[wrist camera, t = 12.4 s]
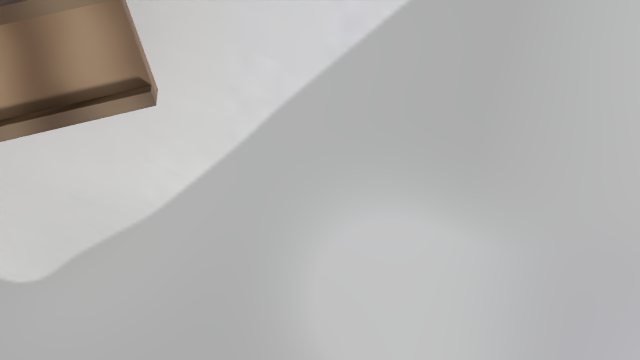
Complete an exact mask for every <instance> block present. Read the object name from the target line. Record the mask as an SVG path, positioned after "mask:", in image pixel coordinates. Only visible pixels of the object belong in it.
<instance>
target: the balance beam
mask: <svg viewBox="0 0 640 360" xmlns="http://www.w3.org/2000/svg"><path fill="white" fill-rule="evenodd" d="M157 92H158V89H157V86H156V83H155V80H154V78H153V75H152V72H151V69H150V66H149V64H148V61H147V58H146V55H145V53H144V50H143V47H142V44H141V42H140V39H139V36H138V33H137V31H136V28H135V25H134V22H133V20H132V17H131V14H130V11H129V9H128V6H127V3H126V0H0V142H2V141H6V140H10V139H15V138H19V137H23V136H28V135H32V134H36V133H40V132H45V131H49V130H53V129H58V128H62V127H66V126H70V125H75V124H79V123H83V122H88V121H92V120H96V119H100V118H105V117H109V116H113V115H117V114H122V113H126V112H130V111H135V110H139V109H143V108H147V107H152V106H156V100H157Z"/></svg>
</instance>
